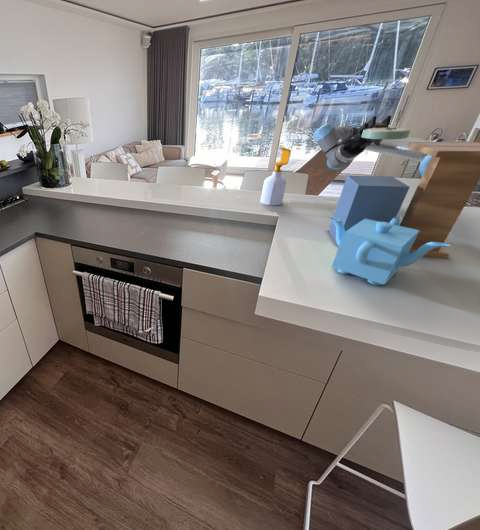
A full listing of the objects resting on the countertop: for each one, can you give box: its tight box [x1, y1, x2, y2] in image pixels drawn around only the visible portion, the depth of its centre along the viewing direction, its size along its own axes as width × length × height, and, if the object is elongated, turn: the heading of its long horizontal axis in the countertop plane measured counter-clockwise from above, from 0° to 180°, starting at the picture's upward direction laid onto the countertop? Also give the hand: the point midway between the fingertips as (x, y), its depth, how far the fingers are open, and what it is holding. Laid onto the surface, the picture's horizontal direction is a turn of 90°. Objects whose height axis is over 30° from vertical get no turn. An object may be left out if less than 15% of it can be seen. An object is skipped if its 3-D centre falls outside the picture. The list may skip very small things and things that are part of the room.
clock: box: [361, 121, 411, 139], centre depth 91 cm, size 22×11×3 cm, turn 159°
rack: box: [398, 140, 480, 259], centre depth 85 cm, size 16×14×30 cm
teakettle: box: [328, 216, 451, 286], centre depth 77 cm, size 19×19×15 cm
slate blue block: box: [328, 175, 411, 247], centre depth 92 cm, size 12×12×20 cm
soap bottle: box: [259, 146, 291, 207], centre depth 128 cm, size 9×9×25 cm
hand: (381, 120), depth 91 cm, fingers closed on clock, 3 cm apart
